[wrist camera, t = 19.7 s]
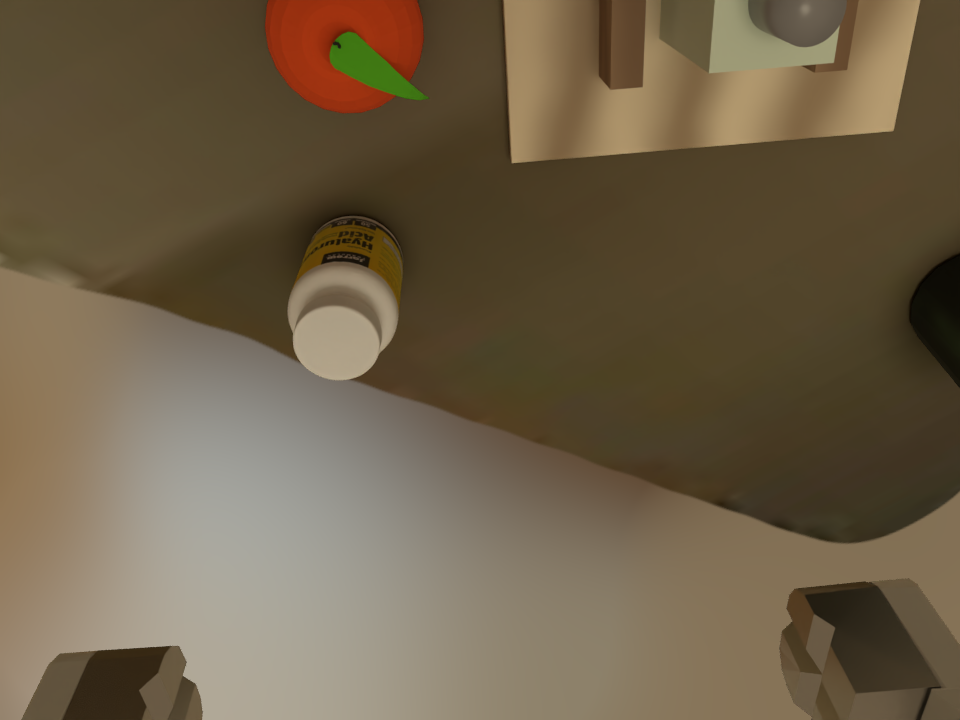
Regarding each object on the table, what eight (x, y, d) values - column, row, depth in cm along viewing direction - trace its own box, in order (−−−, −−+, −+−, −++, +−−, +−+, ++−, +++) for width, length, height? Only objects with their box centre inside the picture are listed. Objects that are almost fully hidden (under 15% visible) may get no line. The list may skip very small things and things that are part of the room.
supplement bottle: (383, 199, 43) (372, 277, 34) (416, 285, 45) (413, 377, 37) (290, 228, 43) (257, 312, 35) (328, 311, 46) (306, 407, 38)
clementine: (470, 16, 38) (478, 41, 32) (392, 133, 41) (386, 177, 35) (326, -97, 35) (304, -92, 29) (252, 37, 38) (219, 67, 32)
